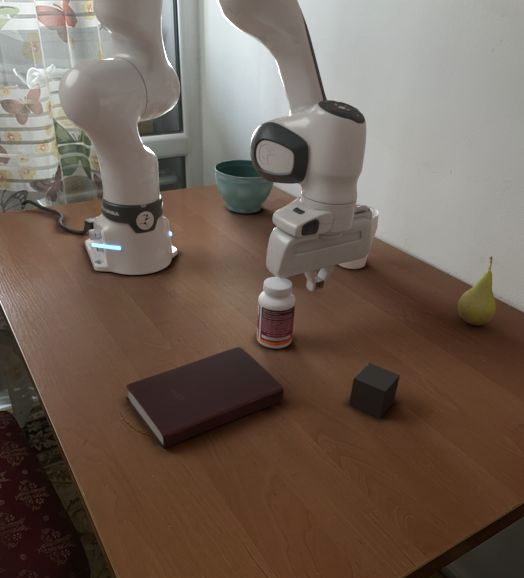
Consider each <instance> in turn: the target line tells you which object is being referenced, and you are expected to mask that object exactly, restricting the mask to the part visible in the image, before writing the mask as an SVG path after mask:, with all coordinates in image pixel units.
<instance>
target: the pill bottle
mask: <svg viewBox="0 0 524 578" xmlns="http://www.w3.org/2000/svg"><path fill="white" fill-rule="evenodd" d="M262 285H263V286H262V287H263V288H262V290H263V291H262V292H261V293H260V294H259V295H258V300H257V319H256V340H257V342H258V343H259V344H260V345H261V346H263V347H265V348H268V349H273V350H277V349H283V348H284V349H285V348H286V347H288V346H289V345H291V342H293V334H294V321H295V313H296V312H295V311H296V297H295V295H294V294H293V293H292V292H293V282H292V281H291V280H290V279H289V278H287V277H286V278H282V279H280V278H278V277H276V276H271V277H267V278H265V279H264V281H263V284H262Z"/></svg>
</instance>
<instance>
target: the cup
mask: <svg viewBox="0 0 524 578" xmlns="http://www.w3.org/2000/svg"><path fill="white" fill-rule="evenodd" d="M362 205H363V204H356V207H359V206H362ZM366 206H367V207H368V208H370V209H371V211H372V218H371V226H372V231H371V243H370V250H369V252H368V254H367V255H366V257H364V258H361V259H357V260H353V261H349V262H345V263H341V264H337V265H338V266H339V267H341V268H344V269H349V270H358V269H359V270H360V269H362V268H364V267H365V266H366V263H367V260H368V257H369V254H370V252H371V249H372V245H373V242H374V239H375V236H376V233H377V229H378V222H379V215H380V213H379V210H377V209H375V208H373V207H371V206H368V205H366Z"/></svg>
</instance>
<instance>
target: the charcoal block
mask: <svg viewBox="0 0 524 578" xmlns="http://www.w3.org/2000/svg"><path fill="white" fill-rule="evenodd" d="M400 377H401V375H400V374H398V373H395V372H393V371H390V370H388V369H386V368H383V367H381V366H379V365H376V364H374V363H371V362H368V363H367V364H366V365H365V366H364V367H363V368H362V369H361V370H360V371H359V372H358V373H357V374H356V375H355V376H354V377H353V380H352V385H351V391H350V398H349V401H348V405H349V406H351V407H353V408H354V409H357V410H359V411H362V412H364V413H366V414H368V415H371V416H373V417H375V418H377V419H381V418H382V416H383V415H384V414H385V413H386V412H387V411H388V409H389V408H390V407H391V406H392V405H393V403H394V402H395V398H396V395H397V389H398V387H399V381H400Z"/></svg>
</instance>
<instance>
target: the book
mask: <svg viewBox="0 0 524 578" xmlns="http://www.w3.org/2000/svg"><path fill="white" fill-rule="evenodd" d="M125 388H126V389H127V390H128V395H127V396H125V399H126V400H127V402H128V403H129V405H130V406H131V408H132V409H133V411H134V412H135V413H136V415H137V416H138V418H139V419H140V421H142V423H143V424H144V425H145V427H146V428H147V430H148V431H149V432H150V433H151V435H152V436H153V437H154V439H155V440H156V441H157V443H158V444H159V445H160V446H161V447H162V448H163V449H165V448H168V447H170V446H172V445H175V444H177V443H180V442H183V441H185V440H188V439H190V438H192V437H195V436H197V435H199V434H202V433H204V432H207V431H209V430H212V429H215V428H217V427H219V426H222V425H224V424H228V423H231V422H232V421H234V420H237V419H240V418H242V417H245V416H248V415H250V414H253V413H256V412H258V411H261V410H263V409H266V408H268V407H271V406H273V405H276V404H279V403H281V402H282V401H283V399H284V394H285V389H284V387H283V386H282V384H281V383H280V382H279V381H278V380H277V379H276V378H274V376H273V375H272V374H271V373H270V372H269V371H268V370H266V368H265V367H263V365H262V364H260V363H259V361H257V360H256V359H255V358H254V357H253V356H252V355H251V354H249V353H248V352H247V351H246V350H245V349H244V348H242V347H241V346H237V347H233V348H231V349H230V348H229V349H227V350H224V351H221V352H218V353H215V354H212V355H209V356H207V357H204V358H201V359H198V360H195V361H193V362H189V363H186V364H184V365H181V366H178V367H174V368H172V369H170V370H166V371H163V372H160V373H157V374H153V375H151V376H148V377H144V378H142V379H139V380H137V381H133V382H131V383H128V384H126V386H125Z"/></svg>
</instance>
